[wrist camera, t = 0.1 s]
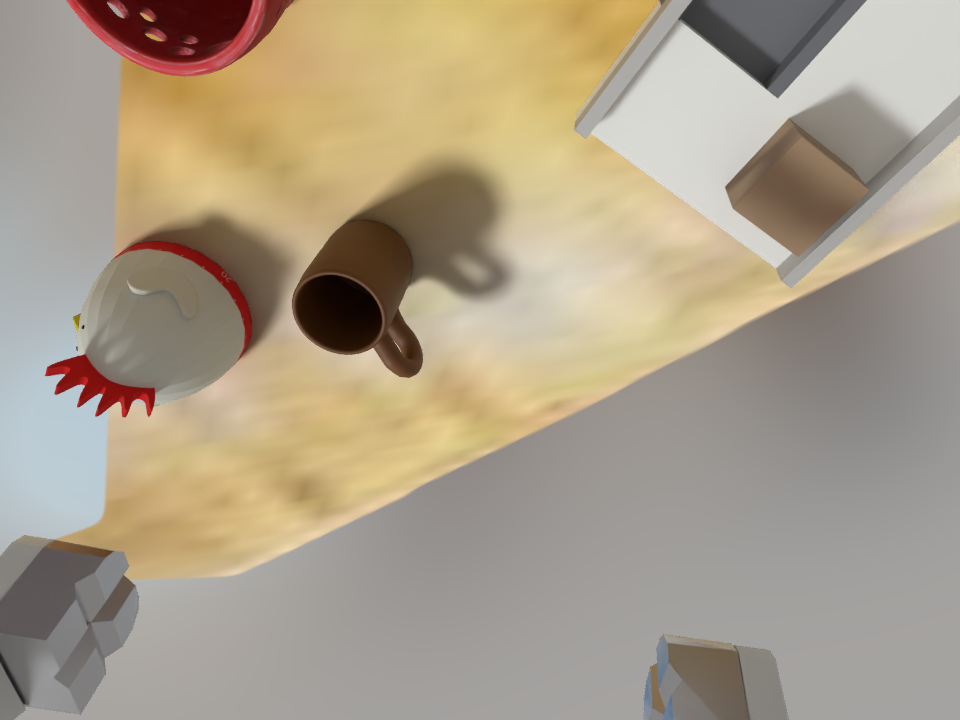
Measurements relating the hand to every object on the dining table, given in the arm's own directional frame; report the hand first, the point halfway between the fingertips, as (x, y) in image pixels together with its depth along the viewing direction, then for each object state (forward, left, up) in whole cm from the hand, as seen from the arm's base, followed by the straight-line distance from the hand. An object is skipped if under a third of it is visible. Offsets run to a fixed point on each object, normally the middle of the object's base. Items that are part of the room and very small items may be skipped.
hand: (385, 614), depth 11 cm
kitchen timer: (+27, -32, -48) cm, 64 cm away
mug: (+21, -12, -48) cm, 54 cm away
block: (+8, +17, -46) cm, 50 cm away
